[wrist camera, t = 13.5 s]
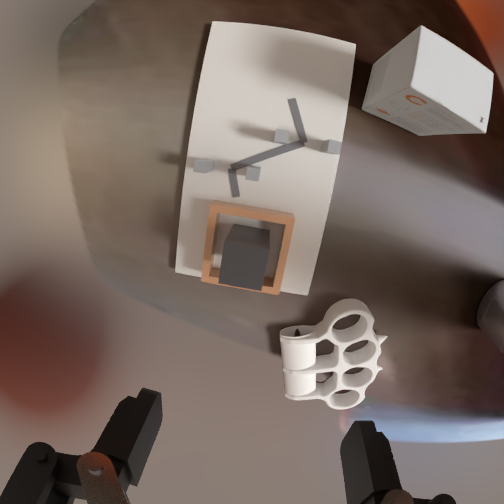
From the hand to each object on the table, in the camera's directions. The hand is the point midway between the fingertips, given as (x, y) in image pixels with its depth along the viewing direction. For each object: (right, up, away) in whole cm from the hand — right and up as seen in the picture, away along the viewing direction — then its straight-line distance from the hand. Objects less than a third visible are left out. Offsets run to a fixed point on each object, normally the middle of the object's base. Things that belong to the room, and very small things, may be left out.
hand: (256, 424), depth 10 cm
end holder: (-1, +8, +24) cm, 25 cm away
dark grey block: (-1, +8, +23) cm, 24 cm away
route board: (+1, +17, +20) cm, 27 cm away
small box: (+16, +24, +17) cm, 34 cm away
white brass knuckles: (+11, -7, +29) cm, 32 cm away
